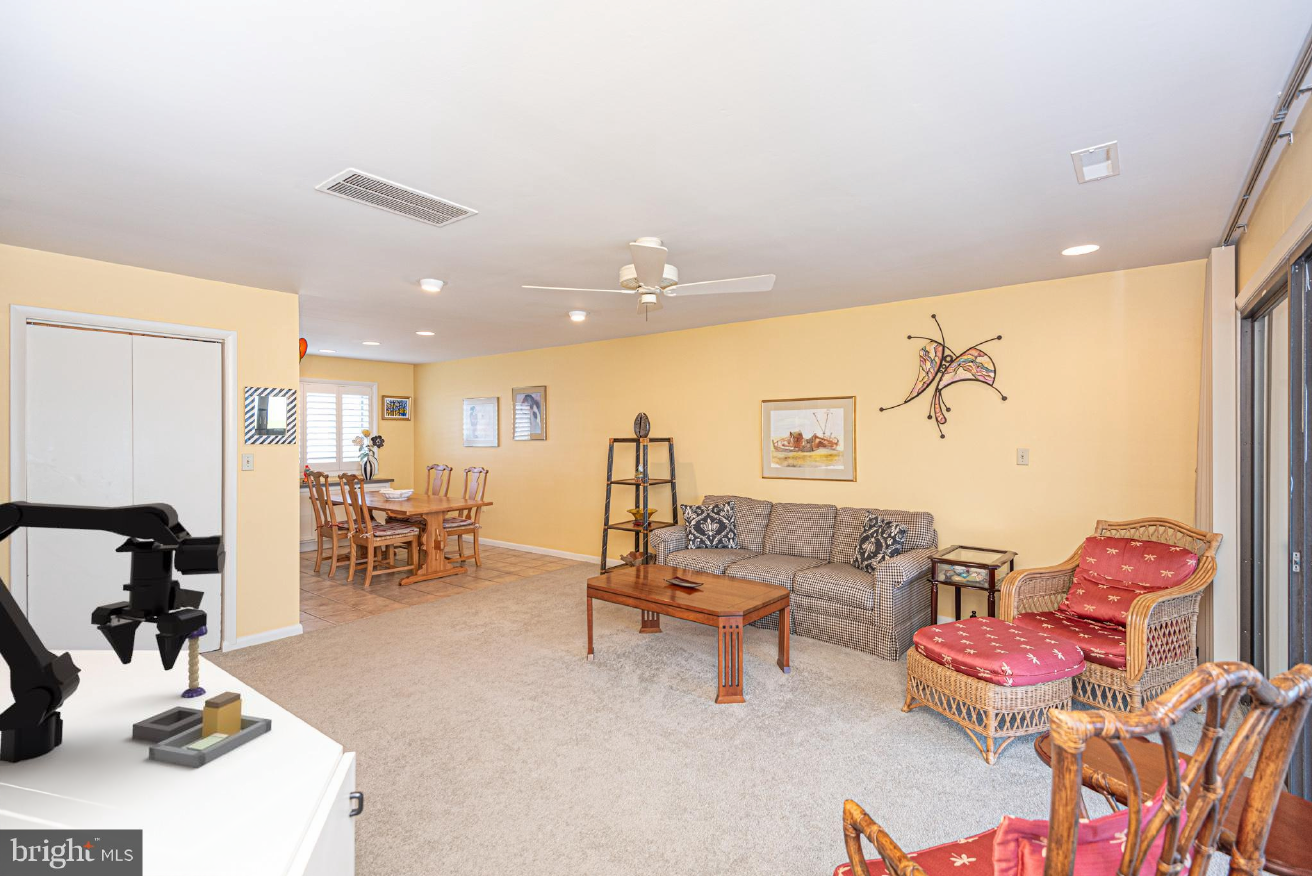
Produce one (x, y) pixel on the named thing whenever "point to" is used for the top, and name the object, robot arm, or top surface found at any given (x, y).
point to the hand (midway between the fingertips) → (147, 666)
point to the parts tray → (175, 754)
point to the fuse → (207, 742)
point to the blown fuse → (222, 715)
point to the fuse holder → (167, 724)
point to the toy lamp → (194, 664)
